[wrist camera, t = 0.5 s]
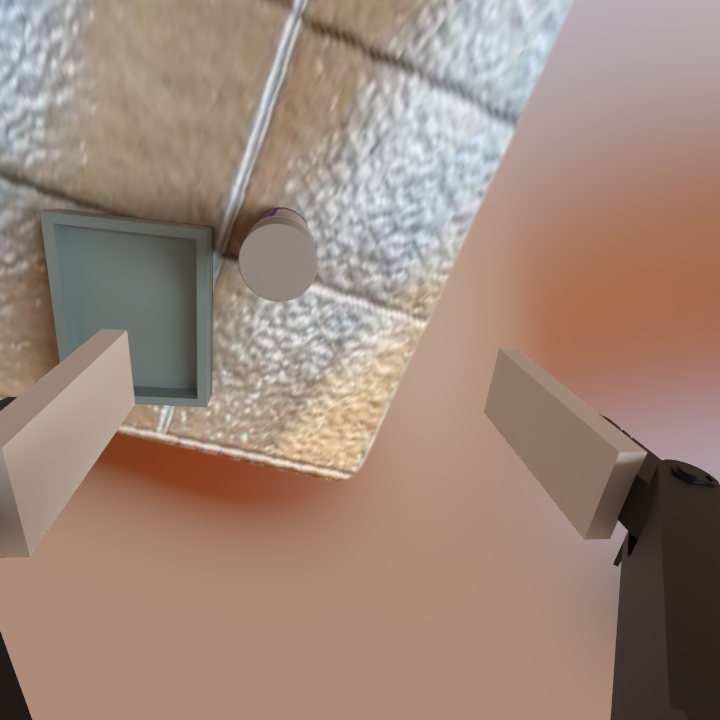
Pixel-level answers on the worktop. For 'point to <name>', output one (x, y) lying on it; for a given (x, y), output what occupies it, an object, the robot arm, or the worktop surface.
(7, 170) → the worktop surface
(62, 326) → the tray
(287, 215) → the container
